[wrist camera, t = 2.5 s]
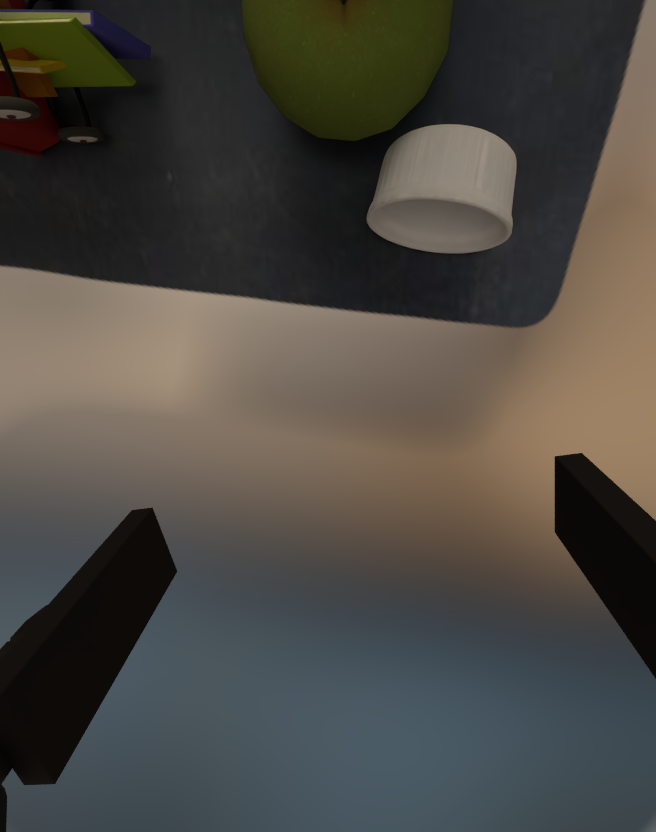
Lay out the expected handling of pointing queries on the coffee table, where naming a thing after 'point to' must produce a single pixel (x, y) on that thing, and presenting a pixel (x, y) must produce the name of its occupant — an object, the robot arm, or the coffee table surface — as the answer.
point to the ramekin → (445, 190)
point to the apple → (346, 59)
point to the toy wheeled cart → (55, 70)
